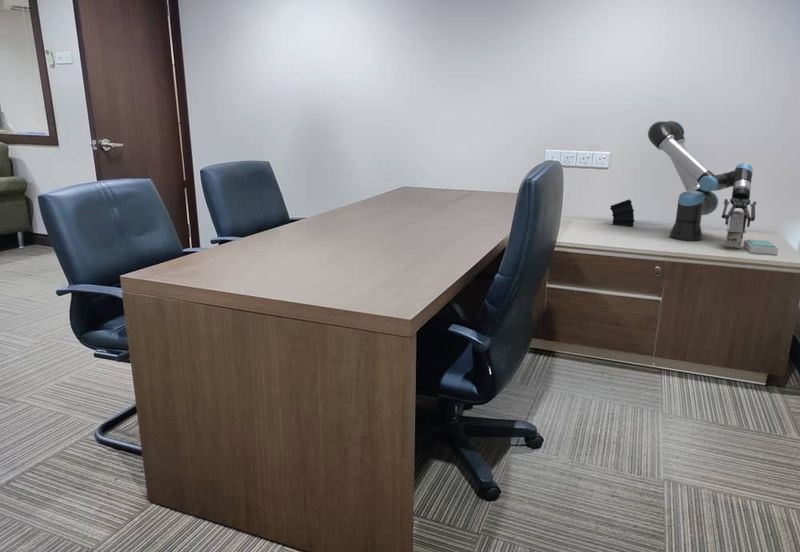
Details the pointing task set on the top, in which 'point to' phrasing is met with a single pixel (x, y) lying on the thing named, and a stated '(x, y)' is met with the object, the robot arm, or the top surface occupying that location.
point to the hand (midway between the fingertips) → (736, 230)
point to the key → (761, 243)
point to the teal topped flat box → (760, 249)
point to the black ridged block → (623, 214)
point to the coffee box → (736, 229)
